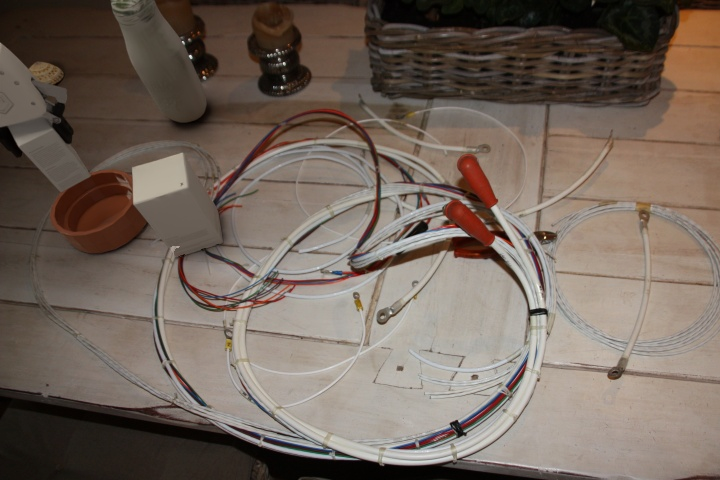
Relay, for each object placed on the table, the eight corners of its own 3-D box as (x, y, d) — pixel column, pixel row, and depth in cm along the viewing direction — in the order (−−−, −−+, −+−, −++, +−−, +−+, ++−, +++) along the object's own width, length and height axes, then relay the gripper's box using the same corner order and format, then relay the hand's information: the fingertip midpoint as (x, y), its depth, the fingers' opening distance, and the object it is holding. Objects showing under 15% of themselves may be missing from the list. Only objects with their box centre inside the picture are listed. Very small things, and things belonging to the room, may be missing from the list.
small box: (46, 168, 93) (3, 120, 85) (77, 152, 95) (38, 103, 86) (60, 194, 90) (16, 146, 81) (92, 176, 91) (53, 128, 82)
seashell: (14, 76, 130) (35, 50, 130) (37, 89, 135) (57, 64, 135) (26, 90, 126) (47, 63, 126) (49, 103, 131) (69, 78, 131)
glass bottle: (162, 132, 116) (87, 8, 93) (177, 101, 122) (109, -24, 99) (205, 131, 115) (140, 5, 92) (218, 99, 121) (160, -27, 98)
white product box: (218, 208, 102) (184, 150, 90) (224, 243, 97) (189, 187, 85) (171, 222, 101) (130, 165, 89) (174, 259, 96) (131, 204, 84)
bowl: (67, 265, 98) (46, 245, 93) (72, 203, 107) (53, 182, 102) (152, 240, 99) (136, 220, 94) (151, 181, 108) (135, 160, 103)
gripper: (-113, 80, 70) (-13, 176, 84) (23, 45, 71) (98, 145, 86) (-100, 48, 74) (-6, 144, 89) (29, 15, 75) (100, 116, 90)
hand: (45, 144), depth 87 cm, fingers closed on small box, 7 cm apart
